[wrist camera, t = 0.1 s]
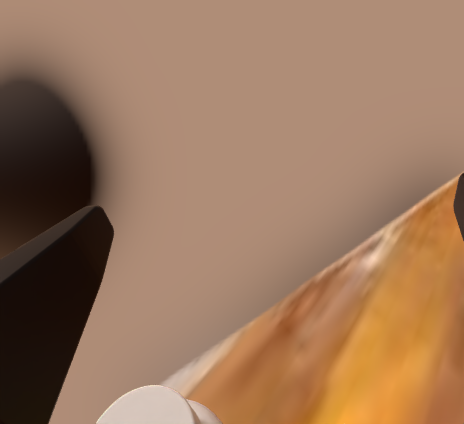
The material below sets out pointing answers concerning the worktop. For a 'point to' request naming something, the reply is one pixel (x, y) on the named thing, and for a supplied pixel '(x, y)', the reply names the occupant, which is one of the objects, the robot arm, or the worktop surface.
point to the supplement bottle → (157, 408)
